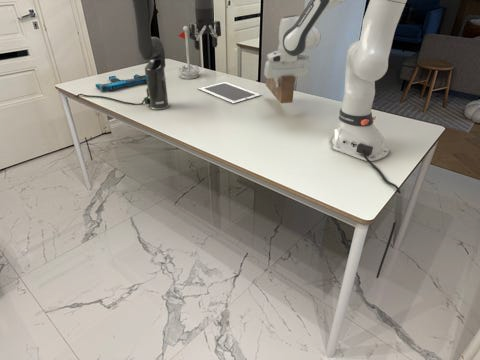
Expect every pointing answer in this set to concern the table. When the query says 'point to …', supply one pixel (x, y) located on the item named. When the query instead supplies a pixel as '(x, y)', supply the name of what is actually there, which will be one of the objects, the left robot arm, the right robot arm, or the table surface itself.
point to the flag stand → (187, 71)
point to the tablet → (229, 92)
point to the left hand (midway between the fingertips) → (206, 48)
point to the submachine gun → (121, 82)
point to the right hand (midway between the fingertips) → (285, 86)
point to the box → (282, 88)
